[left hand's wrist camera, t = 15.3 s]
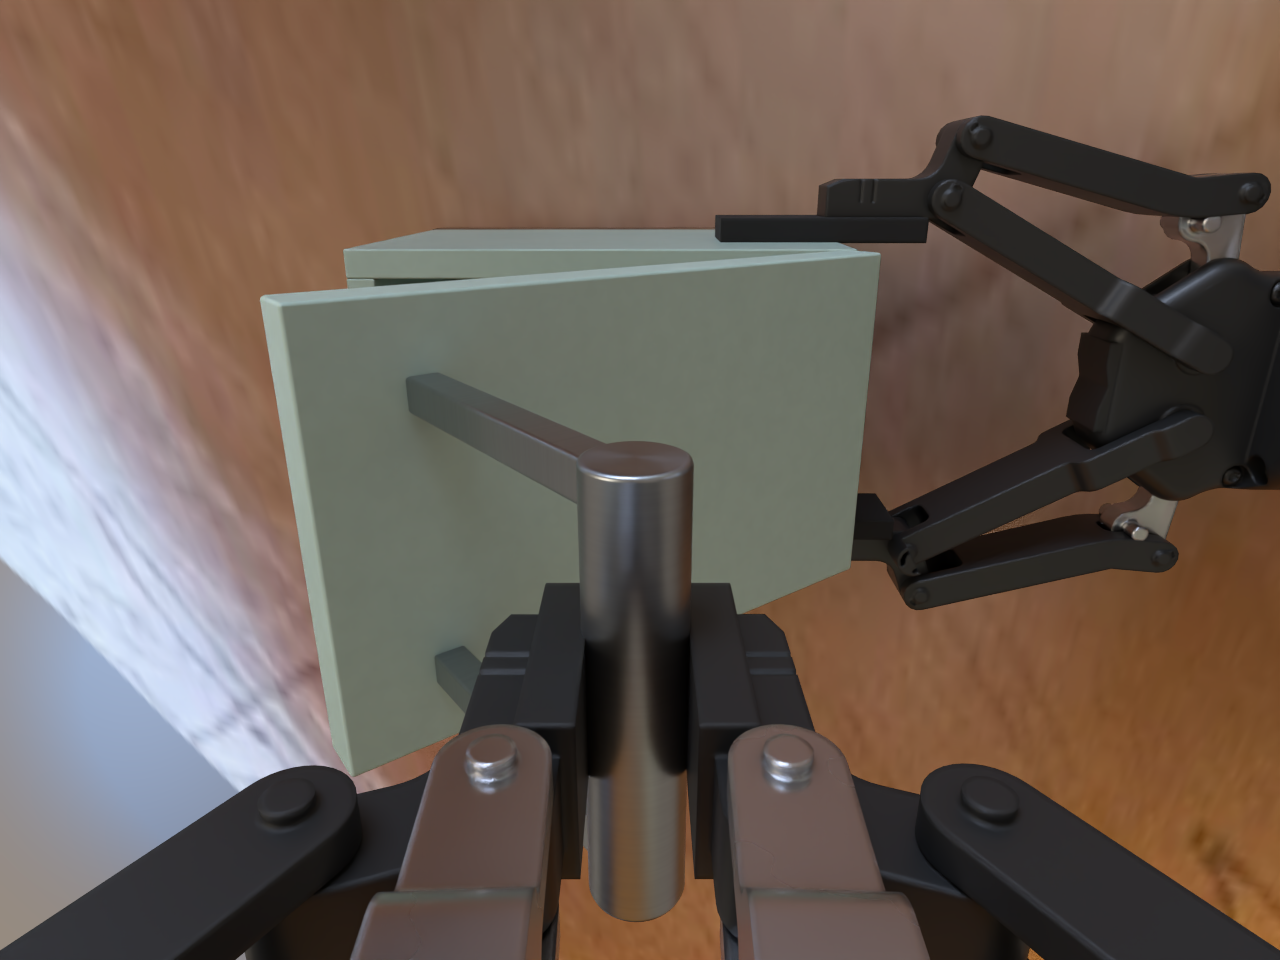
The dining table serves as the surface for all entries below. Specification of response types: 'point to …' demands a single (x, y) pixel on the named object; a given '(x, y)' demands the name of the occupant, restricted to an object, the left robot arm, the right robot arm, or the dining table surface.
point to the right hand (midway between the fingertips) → (713, 380)
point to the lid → (568, 496)
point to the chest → (544, 252)
